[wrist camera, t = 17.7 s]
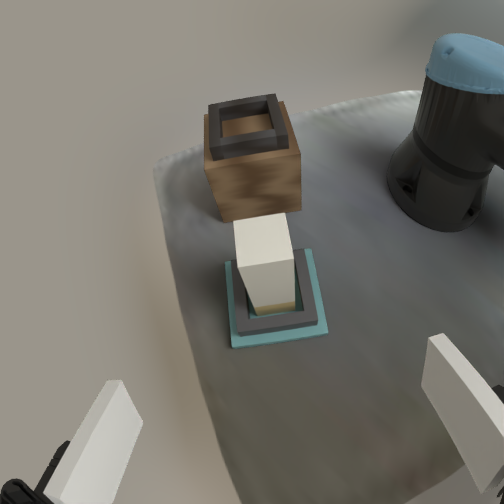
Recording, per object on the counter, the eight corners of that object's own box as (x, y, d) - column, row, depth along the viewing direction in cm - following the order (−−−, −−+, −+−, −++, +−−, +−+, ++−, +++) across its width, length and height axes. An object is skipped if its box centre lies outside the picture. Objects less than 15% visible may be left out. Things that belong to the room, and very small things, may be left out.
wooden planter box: (287, 156, 44) (282, 88, 34) (301, 210, 40) (300, 139, 29) (220, 167, 45) (200, 102, 35) (223, 222, 40) (199, 156, 30)
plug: (289, 276, 34) (284, 212, 24) (295, 310, 32) (293, 258, 22) (253, 281, 35) (233, 221, 24) (257, 316, 33) (237, 267, 22)
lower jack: (310, 252, 37) (311, 239, 34) (327, 334, 32) (330, 327, 29) (226, 265, 37) (220, 253, 35) (233, 348, 32) (228, 343, 30)
